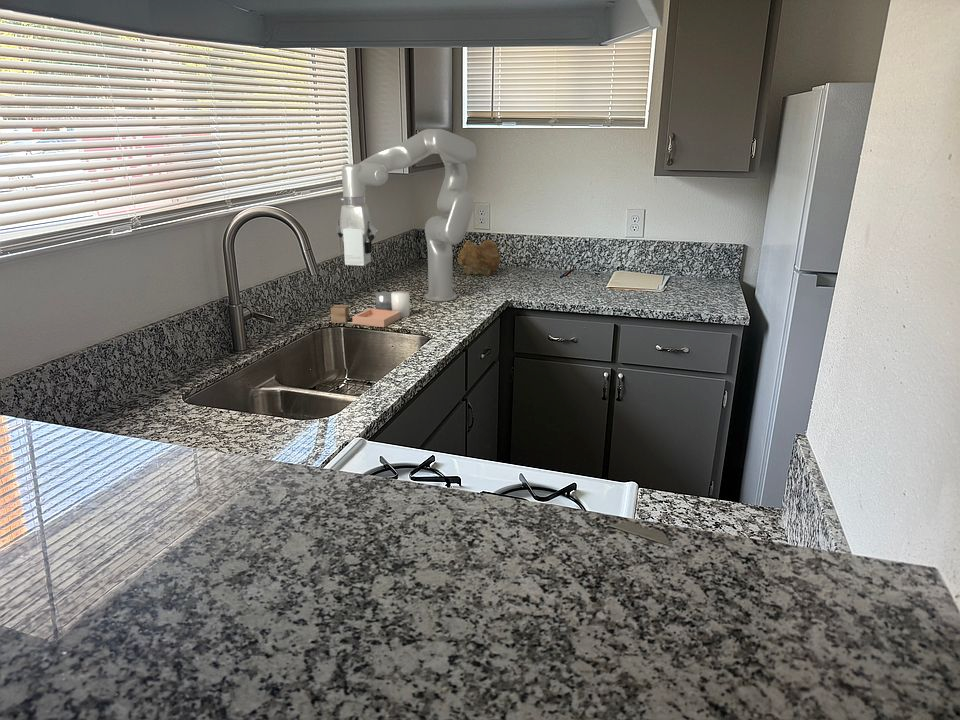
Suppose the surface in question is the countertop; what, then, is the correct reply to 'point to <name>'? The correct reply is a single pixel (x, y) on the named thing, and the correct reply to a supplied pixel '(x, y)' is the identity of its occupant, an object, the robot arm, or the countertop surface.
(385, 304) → the grey tin
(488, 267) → the rough brown rock
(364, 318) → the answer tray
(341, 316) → the walnut block
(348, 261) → the supplement box
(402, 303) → the white rounded lump
